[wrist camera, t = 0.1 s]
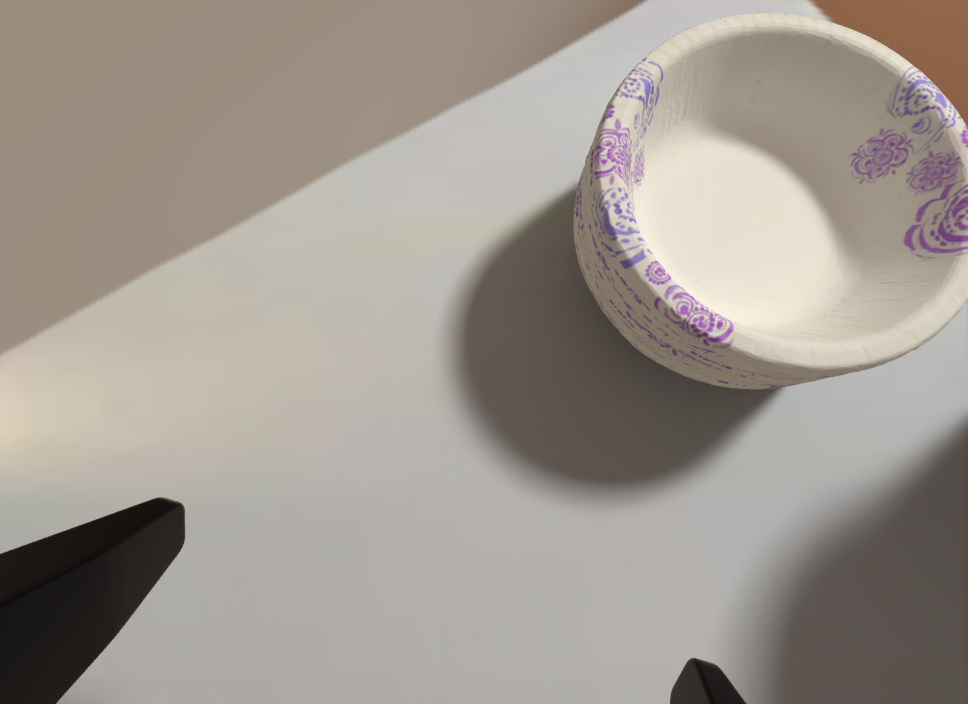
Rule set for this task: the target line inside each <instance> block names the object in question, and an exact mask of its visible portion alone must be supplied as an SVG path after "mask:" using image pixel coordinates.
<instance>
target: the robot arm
mask: <svg viewBox="0 0 968 704" xmlns="http://www.w3.org/2000/svg"><path fill="white" fill-rule="evenodd" d="M184 541H185V509H184V506H183V504H182V503H180V502H177V501H174V500H170V499H167V498H163V497H159V498H155V499H152V500H149V501H146V502H143V503H141V504H138V505H135V506H132V507H129V508H127V509H124V510H121V511H118V512H116V513H113V514H110V515H107V516H104V517H102V518H99V519H96V520H93V521H91V522H88V523H85V524H82V525H79V526H77V527H74V528H71V529H68V530H66V531H63V532H60V533H57V534H54V535H52V536H49V537H46V538H43V539H40V540H38V541H35V542H32V543H29V544H27V545H24V546H21V547H18V548H15V549H13V550H10V551H7V552H4V553H2V554H0V704H56V703H57V702H58V701H59V699H60V698H61V697H62V696H63V695H64V694H65V693H66V692H67V691H68V689H69V688H70V687H71V686H72V685H73V684H74V683H75V682H76V680H77V679H78V678H79V677H80V676H81V675H82V674H83V673H84V672H85V670H86V669H87V668H88V667H89V666H90V665H91V664H92V663H93V661H94V660H95V659H96V658H97V657H98V656H99V655H100V654H101V653H102V651H103V650H104V649H105V648H106V647H107V646H108V644H109V643H110V642H111V641H112V640H113V639H114V637H115V636H116V635H117V634H118V633H119V631H120V630H121V629H122V628H123V626H124V625H125V624H126V622H127V621H128V620H129V619H130V617H131V616H132V615H133V613H134V612H135V611H136V609H137V608H138V607H139V605H140V604H141V603H142V601H143V600H144V599H145V597H146V596H147V595H148V593H149V592H150V591H151V589H152V588H153V587H154V585H155V584H156V583H157V581H158V580H159V579H160V577H161V576H162V575H163V573H164V572H165V571H166V569H167V568H168V567H169V565H170V564H171V563H172V561H173V560H174V559H175V558H176V556H177V555H178V553H179V552H180V550H181V549H182V547H183V544H184ZM670 704H746V702H745V701H744V700H743V698H742V697H741V696H740V694H739V693H738V692H737V690H736V689H735V688H734V686H733V685H732V684H731V682H730V681H729V679H728V678H727V677H726V675H725V674H724V673H723V671H722V670H721V669H720V668H719V667H718V666H717V665H715V664H713V663H710V662H706V661H703V660H700V659H697V658H691V659H690V660H688V662H687V663H686V665H685V666H684V668H683V670H682V672H681V674H680V676H679V677H678V679H677V681H676V683H675V685H674V686H673V689H672V692H671V697H670Z"/></svg>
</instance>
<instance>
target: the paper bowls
mask: <svg viewBox="0 0 968 704" xmlns="http://www.w3.org/2000/svg"><path fill="white" fill-rule="evenodd" d="M573 228H574V242H575V249H576V255H577V259H578V263H579V266H580V269H581V271H582V274H583V276H584V278H585V281H586V283H587V285H588V287H589V290H590V291H591V293H592V295H593V297H594V299H595V300H596V302H597V304H598V305H599V307H600V309H601V310H602V312H603V313H604V314H605V315H606V317H607V318H608V319H609V320H610V321H611V322H612V324H613V325H614V326H615V327H616V328H617V329H618V331H619V332H620V333H621V334H622V335H623V336H624V337H625V338H626V339H627V340H628V341H629V342H630V343H631V344H632V346H634V347H635V348H636V349H637V350H638V351H640V352H641V353H642V354H644V355H645V356H647V357H648V358H650V359H651V360H653V361H655V362H656V363H658V364H660V365H663V366H665V367H667V368H669V369H670V370H672V371H674V372H676V373H678V374H681V375H683V376H685V377H688V378H691V379H694V380H697V381H700V382H704V383H707V384H711V385H715V386H720V387H726V388H736V389H773V388H778V387H784V386H791V385H797V384H801V383H806V382H811V381H816V380H820V379H824V378H829V377H834V376H839V375H843V374H847V373H852V372H858V371H861V370H866V369H870V368H873V367H876V366H879V365H883V364H885V363H887V362H889V361H892V360H894V359H897V358H899V357H902V356H903V355H905V354H907V353H909V352H910V351H913V350H915V349H917V348H919V347H920V346H922V345H923V344H925V343H926V342H927V341H929V340H930V339H932V338H933V337H934V336H935V335H936V334H938V333H939V332H940V331H941V330H942V329H943V328H944V327H945V326H946V325H947V324H948V323H949V322H950V321H951V320H952V319H953V318H954V316H955V315H956V314H957V313H958V312H959V311H960V310H961V309H962V307H963V305H964V304H965V303H966V301H967V300H968V128H967V126H966V124H965V123H964V121H963V120H962V118H961V117H960V115H959V113H958V112H957V110H956V109H955V108H954V107H953V105H952V104H951V103H950V101H949V100H948V99H947V98H946V97H945V95H944V94H943V93H942V92H941V91H940V90H939V89H938V88H937V87H936V86H935V85H934V84H933V83H932V82H931V81H930V80H929V79H928V78H927V77H926V76H925V75H924V74H923V73H922V72H921V71H920V70H918V69H917V68H916V67H914V66H913V65H911V64H910V63H909V62H908V61H907V60H905V59H904V58H902V57H901V56H900V55H898V54H897V53H895V52H894V51H893V50H891V49H889V48H888V47H886V46H884V45H883V44H881V43H879V42H878V41H876V40H874V39H872V38H870V37H868V36H865V35H863V34H861V33H859V32H856V31H854V30H851V29H849V28H846V27H843V26H840V25H837V24H834V23H831V22H827V21H824V20H820V19H816V18H810V17H804V16H797V15H790V14H778V13H754V14H743V15H737V16H730V17H725V18H720V19H717V20H713V21H710V22H706V23H703V24H700V25H697V26H695V27H693V28H690V29H688V30H686V31H684V32H682V33H680V34H678V35H676V36H674V37H672V38H671V39H669V40H667V41H666V42H664V43H663V44H661V45H660V46H659V47H657V48H655V49H654V50H653V51H651V52H650V53H649V54H648V55H647V56H646V57H645V58H644V59H643V60H642V61H641V62H640V63H639V64H637V65H636V66H635V68H634V69H633V70H632V71H631V72H630V73H629V75H628V76H627V77H626V78H625V79H624V80H623V82H622V83H621V84H620V86H619V87H618V89H617V90H616V92H615V94H614V95H613V97H612V98H611V100H610V102H609V103H608V105H607V107H606V110H605V112H604V114H603V116H602V119H601V121H600V124H599V126H598V129H597V132H596V135H595V138H594V141H593V143H592V146H591V148H590V150H589V153H588V155H587V158H586V161H585V166H584V168H583V171H582V174H581V177H580V180H579V184H578V188H577V193H576V199H575V206H574V224H573Z"/></svg>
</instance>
